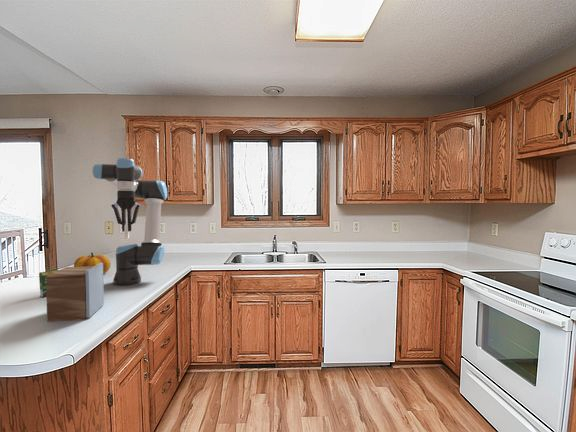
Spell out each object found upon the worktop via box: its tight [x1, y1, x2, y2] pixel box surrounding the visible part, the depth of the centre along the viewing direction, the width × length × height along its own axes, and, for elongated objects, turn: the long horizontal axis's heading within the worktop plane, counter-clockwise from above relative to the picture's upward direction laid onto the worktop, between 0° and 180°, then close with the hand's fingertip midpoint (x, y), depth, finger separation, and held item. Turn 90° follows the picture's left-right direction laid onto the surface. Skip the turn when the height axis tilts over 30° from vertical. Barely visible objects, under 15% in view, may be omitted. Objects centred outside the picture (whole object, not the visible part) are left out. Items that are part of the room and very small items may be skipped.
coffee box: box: [38, 269, 60, 298], centre depth 158 cm, size 8×3×13 cm, turn 150°
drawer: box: [85, 263, 105, 319], centre depth 134 cm, size 17×14×20 cm
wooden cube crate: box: [45, 266, 94, 323], centre depth 133 cm, size 17×14×19 cm
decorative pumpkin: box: [73, 252, 111, 275], centre depth 203 cm, size 20×22×15 cm
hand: (127, 238), depth 149 cm, fingers closed
